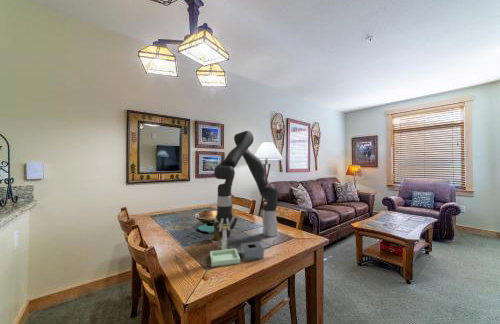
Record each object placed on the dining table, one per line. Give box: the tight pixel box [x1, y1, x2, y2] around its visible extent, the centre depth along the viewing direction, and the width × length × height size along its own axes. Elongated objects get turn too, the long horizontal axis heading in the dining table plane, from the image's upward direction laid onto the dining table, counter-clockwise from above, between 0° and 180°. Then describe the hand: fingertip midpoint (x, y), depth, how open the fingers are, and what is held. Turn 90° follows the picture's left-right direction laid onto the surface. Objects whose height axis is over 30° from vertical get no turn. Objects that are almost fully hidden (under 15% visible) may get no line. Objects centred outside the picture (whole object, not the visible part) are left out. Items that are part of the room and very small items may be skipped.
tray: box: [209, 248, 241, 268], centre depth 107 cm, size 14×12×2 cm
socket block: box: [240, 241, 265, 262], centre depth 112 cm, size 10×10×5 cm
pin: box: [221, 224, 228, 250], centre depth 107 cm, size 4×4×12 cm
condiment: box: [209, 220, 222, 244], centre depth 134 cm, size 7×8×12 cm
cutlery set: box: [184, 223, 214, 240], centre depth 150 cm, size 20×30×2 cm, turn 143°
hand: (224, 237), depth 107 cm, fingers closed on pin, 3 cm apart
